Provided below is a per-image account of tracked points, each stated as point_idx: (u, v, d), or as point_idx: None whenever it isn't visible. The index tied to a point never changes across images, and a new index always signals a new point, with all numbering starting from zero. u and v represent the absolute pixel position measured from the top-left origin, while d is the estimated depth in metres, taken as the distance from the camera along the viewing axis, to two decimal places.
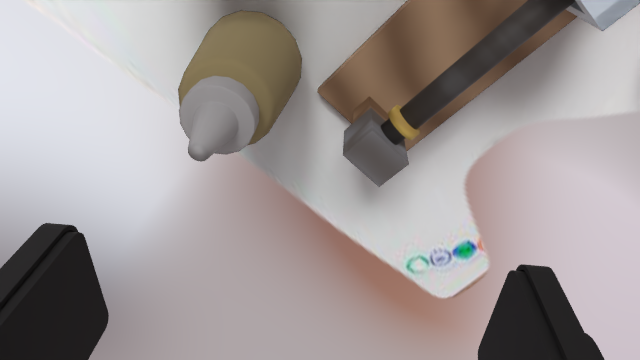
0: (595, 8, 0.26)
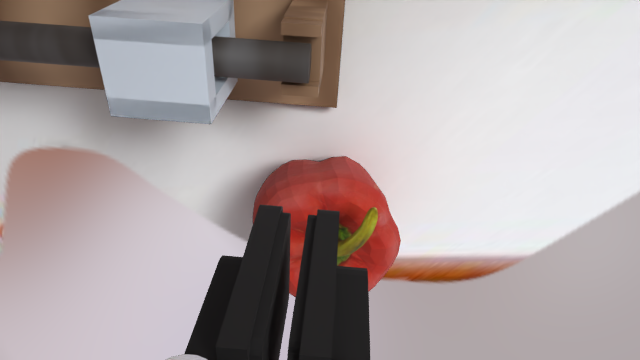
0: (111, 88, 0.21)
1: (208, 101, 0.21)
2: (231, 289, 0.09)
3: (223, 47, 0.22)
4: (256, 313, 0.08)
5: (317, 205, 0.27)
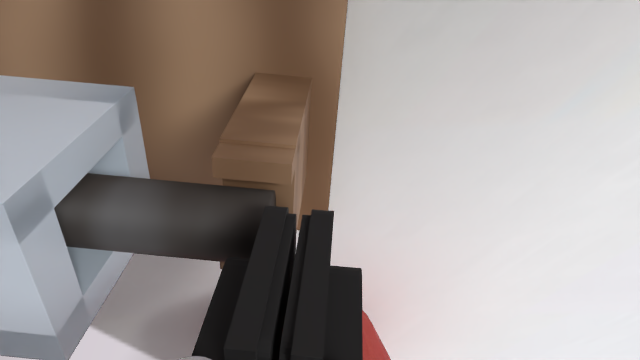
0: None
1: (53, 330, 0.10)
2: (237, 290, 0.09)
3: (95, 205, 0.11)
4: (264, 314, 0.08)
5: None
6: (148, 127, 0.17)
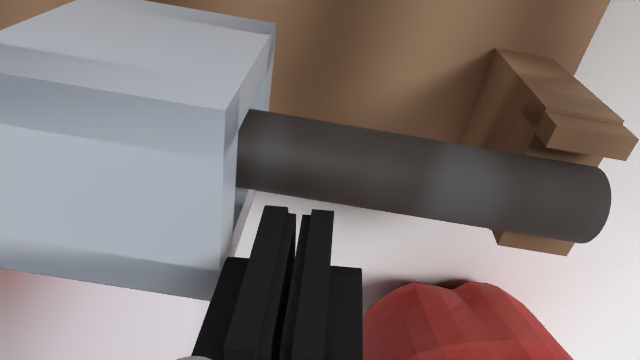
0: None
1: (218, 264, 0.09)
2: (237, 290, 0.09)
3: (433, 166, 0.10)
4: (263, 314, 0.08)
5: None
6: (358, 96, 0.17)
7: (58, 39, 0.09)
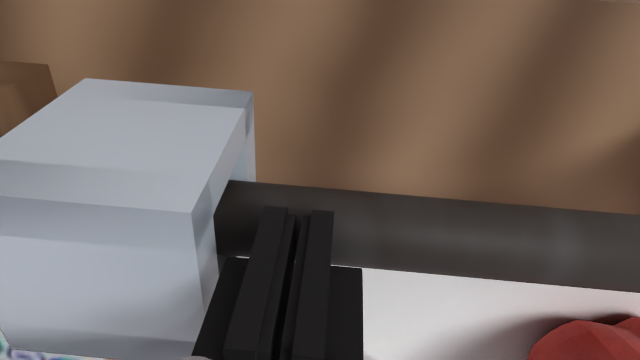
0: (5, 309, 0.10)
1: None
2: (237, 290, 0.09)
3: None
4: (263, 314, 0.08)
5: None
6: (547, 155, 0.17)
7: (45, 145, 0.10)
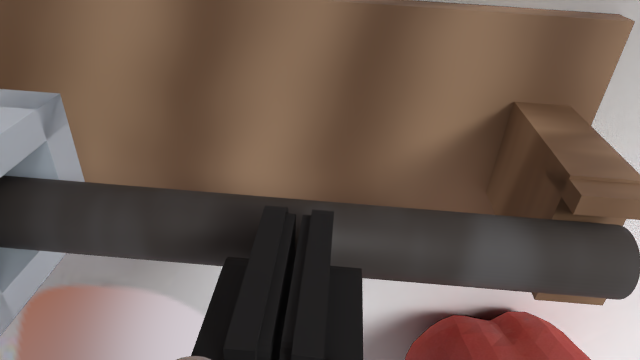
0: None
1: None
2: (237, 290, 0.09)
3: (468, 243, 0.11)
4: (263, 314, 0.08)
5: None
6: (387, 154, 0.18)
7: None
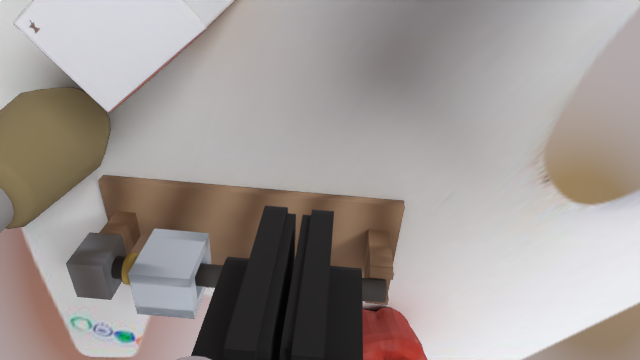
0: (138, 302, 0.38)
1: (193, 309, 0.38)
2: (237, 290, 0.09)
3: None
4: (263, 314, 0.08)
5: (381, 356, 0.44)
6: None
7: (150, 258, 0.38)
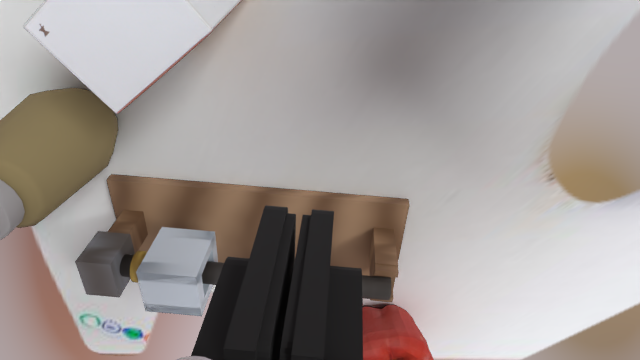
0: (146, 299, 0.38)
1: (200, 306, 0.39)
2: (237, 290, 0.09)
3: None
4: (263, 314, 0.08)
5: (386, 353, 0.44)
6: None
7: (158, 256, 0.38)
